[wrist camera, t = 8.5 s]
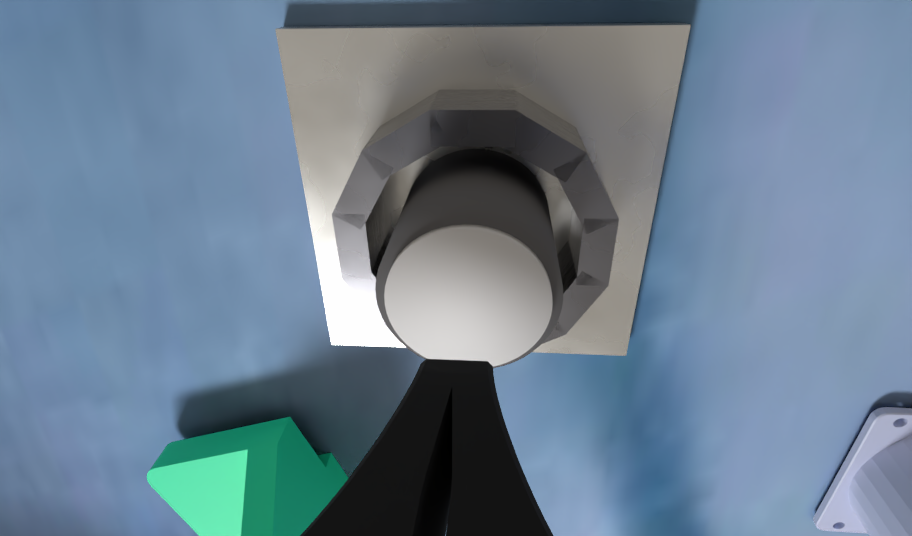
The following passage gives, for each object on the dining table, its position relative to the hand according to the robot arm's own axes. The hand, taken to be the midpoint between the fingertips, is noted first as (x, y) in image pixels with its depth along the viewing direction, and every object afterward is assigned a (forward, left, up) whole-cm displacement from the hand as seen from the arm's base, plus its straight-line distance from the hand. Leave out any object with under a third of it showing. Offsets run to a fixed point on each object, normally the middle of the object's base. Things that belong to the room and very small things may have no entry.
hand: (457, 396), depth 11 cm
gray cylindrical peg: (0, 0, -9) cm, 9 cm away
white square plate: (0, 0, -9) cm, 9 cm away
